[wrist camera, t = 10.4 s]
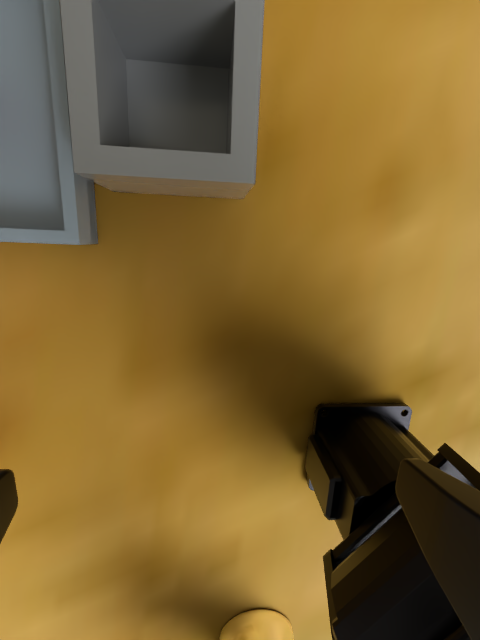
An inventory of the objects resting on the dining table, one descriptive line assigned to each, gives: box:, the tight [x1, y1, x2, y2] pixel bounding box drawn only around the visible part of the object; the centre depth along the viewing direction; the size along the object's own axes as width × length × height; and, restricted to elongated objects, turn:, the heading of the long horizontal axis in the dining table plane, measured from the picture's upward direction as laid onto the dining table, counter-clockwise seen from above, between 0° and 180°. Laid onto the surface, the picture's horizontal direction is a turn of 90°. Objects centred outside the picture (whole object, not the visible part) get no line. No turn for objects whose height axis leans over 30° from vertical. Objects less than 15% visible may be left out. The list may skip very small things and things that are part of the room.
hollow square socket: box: [60, 0, 264, 199], centre depth 14 cm, size 7×7×5 cm
